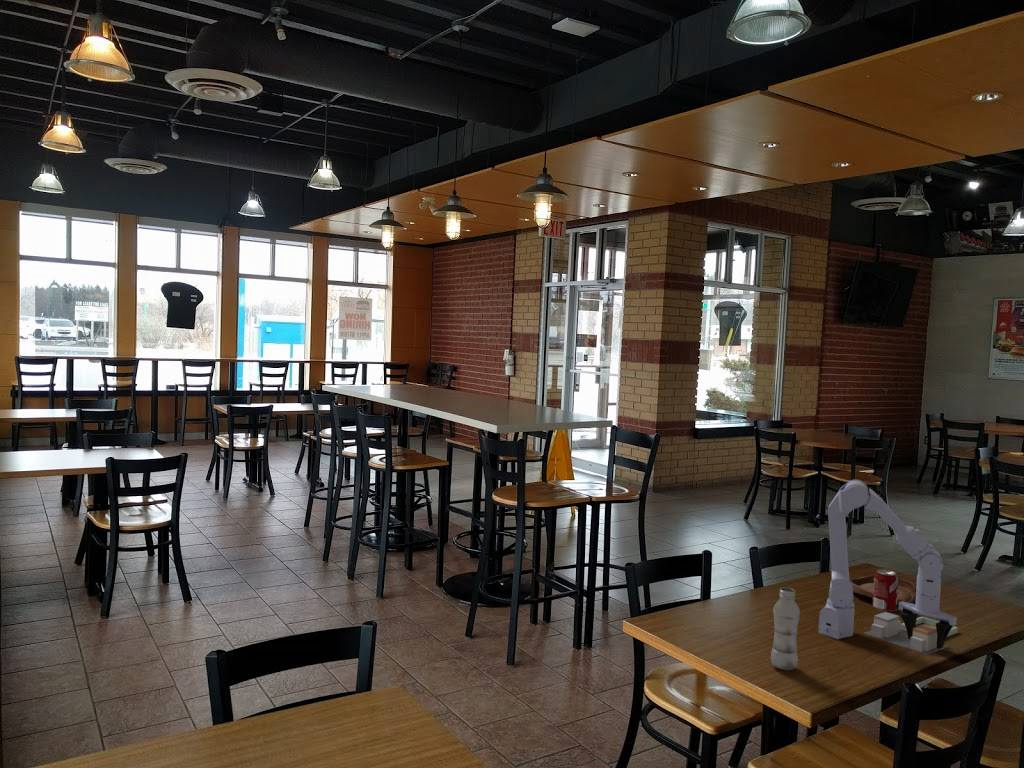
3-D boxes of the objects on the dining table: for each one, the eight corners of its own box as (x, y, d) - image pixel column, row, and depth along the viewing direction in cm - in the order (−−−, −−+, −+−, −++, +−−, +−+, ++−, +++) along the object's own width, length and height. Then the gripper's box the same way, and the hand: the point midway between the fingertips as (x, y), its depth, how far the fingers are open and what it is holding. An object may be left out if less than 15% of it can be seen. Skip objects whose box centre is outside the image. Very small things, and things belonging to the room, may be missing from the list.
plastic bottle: (790, 662, 194) (794, 585, 193) (802, 674, 187) (805, 594, 186) (766, 662, 194) (769, 585, 193) (776, 673, 187) (780, 594, 186)
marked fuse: (927, 651, 203) (928, 632, 202) (912, 646, 206) (913, 628, 206) (938, 646, 206) (939, 628, 206) (923, 641, 209) (924, 623, 209)
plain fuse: (886, 637, 212) (887, 619, 211) (873, 632, 215) (874, 615, 215) (898, 633, 215) (899, 616, 215) (884, 628, 218) (885, 611, 218)
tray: (936, 643, 210) (936, 635, 210) (899, 631, 219) (900, 624, 219) (957, 635, 217) (957, 627, 217) (921, 624, 226) (921, 616, 226)
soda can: (883, 614, 234) (885, 575, 233) (867, 606, 240) (869, 569, 240) (901, 612, 236) (903, 574, 235) (885, 605, 242) (887, 568, 241)
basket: (898, 612, 236) (899, 596, 236) (835, 595, 251) (835, 581, 251) (925, 598, 251) (926, 583, 251) (864, 583, 266) (865, 569, 266)
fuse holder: (927, 657, 200) (928, 643, 200) (863, 635, 215) (863, 622, 215) (948, 649, 206) (949, 635, 206) (884, 628, 221) (884, 615, 221)
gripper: (963, 599, 202) (960, 649, 202) (909, 584, 214) (906, 631, 214) (950, 603, 198) (947, 654, 198) (895, 588, 210) (893, 636, 210)
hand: (925, 642), depth 206 cm, fingers open, 7 cm apart
